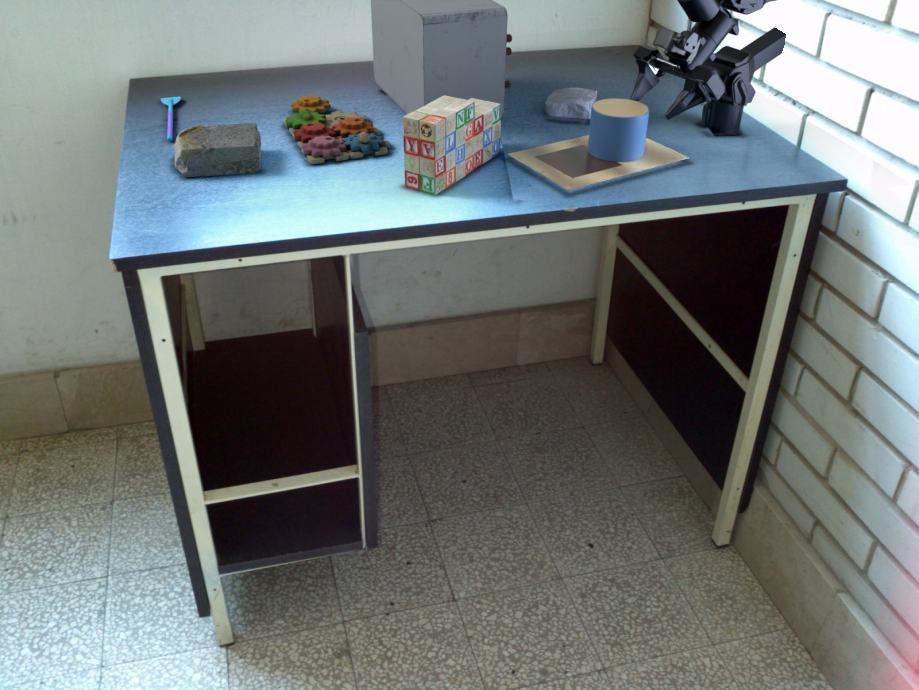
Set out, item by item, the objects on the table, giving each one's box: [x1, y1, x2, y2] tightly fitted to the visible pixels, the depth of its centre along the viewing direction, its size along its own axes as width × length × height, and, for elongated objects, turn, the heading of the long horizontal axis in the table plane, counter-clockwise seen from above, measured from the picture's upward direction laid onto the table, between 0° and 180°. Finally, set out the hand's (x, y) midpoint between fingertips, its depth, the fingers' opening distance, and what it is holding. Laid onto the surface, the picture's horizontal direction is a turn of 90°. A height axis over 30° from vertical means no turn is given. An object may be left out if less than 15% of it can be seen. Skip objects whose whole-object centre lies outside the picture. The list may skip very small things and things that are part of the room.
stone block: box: [544, 87, 598, 120], centre depth 178 cm, size 12×5×10 cm
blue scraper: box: [160, 96, 182, 142], centre depth 173 cm, size 25×4×1 cm, turn 11°
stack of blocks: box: [402, 95, 502, 196], centre depth 150 cm, size 21×6×12 cm, turn 148°
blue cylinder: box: [587, 98, 650, 162], centre depth 157 cm, size 10×10×8 cm
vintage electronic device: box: [370, 0, 513, 120], centre depth 174 cm, size 32×18×25 cm, turn 22°
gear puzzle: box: [283, 94, 392, 165], centre depth 168 cm, size 31×16×4 cm, turn 21°
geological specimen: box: [173, 122, 262, 178], centre depth 154 cm, size 11×6×15 cm
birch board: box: [506, 134, 690, 191], centre depth 158 cm, size 27×18×1 cm, turn 122°
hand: (648, 110), depth 158 cm, fingers open, 9 cm apart
